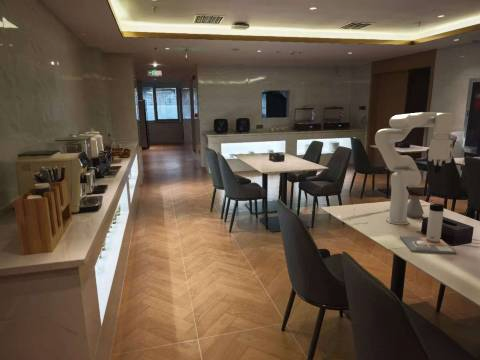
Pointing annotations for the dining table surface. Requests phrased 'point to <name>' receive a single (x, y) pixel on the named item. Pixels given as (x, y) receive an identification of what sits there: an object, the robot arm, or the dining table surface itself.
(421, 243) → the button
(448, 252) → the picture board
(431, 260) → the dining table surface
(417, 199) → the coffee pot
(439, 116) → the robot arm
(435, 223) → the travel mug
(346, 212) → the dining table surface
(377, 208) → the dining table surface
